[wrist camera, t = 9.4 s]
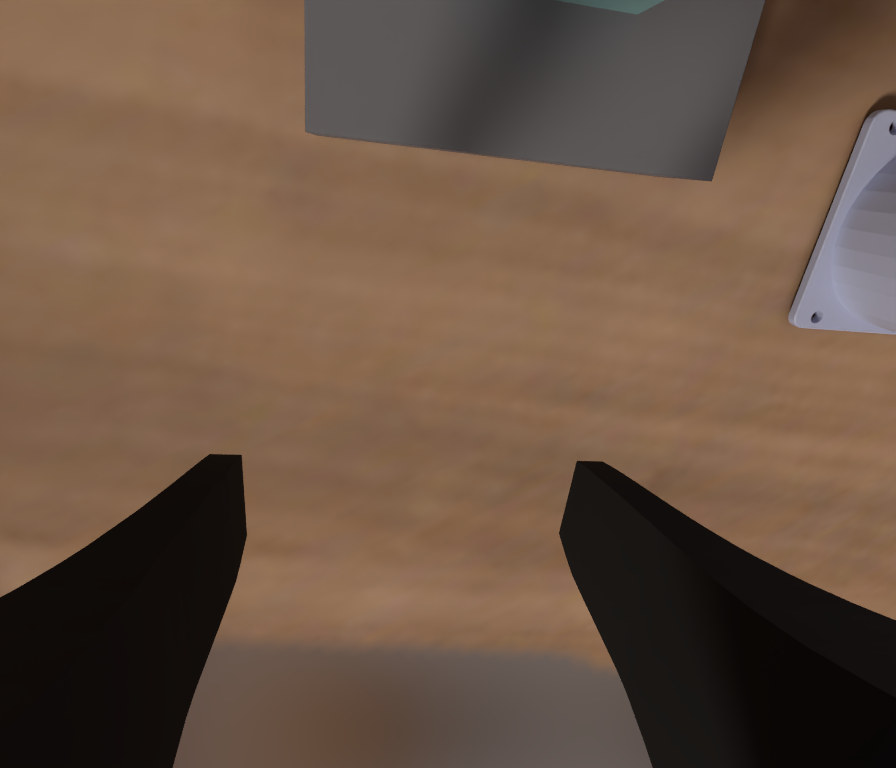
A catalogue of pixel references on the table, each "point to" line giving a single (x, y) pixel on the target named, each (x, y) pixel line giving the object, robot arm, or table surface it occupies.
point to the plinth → (532, 79)
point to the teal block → (618, 4)
